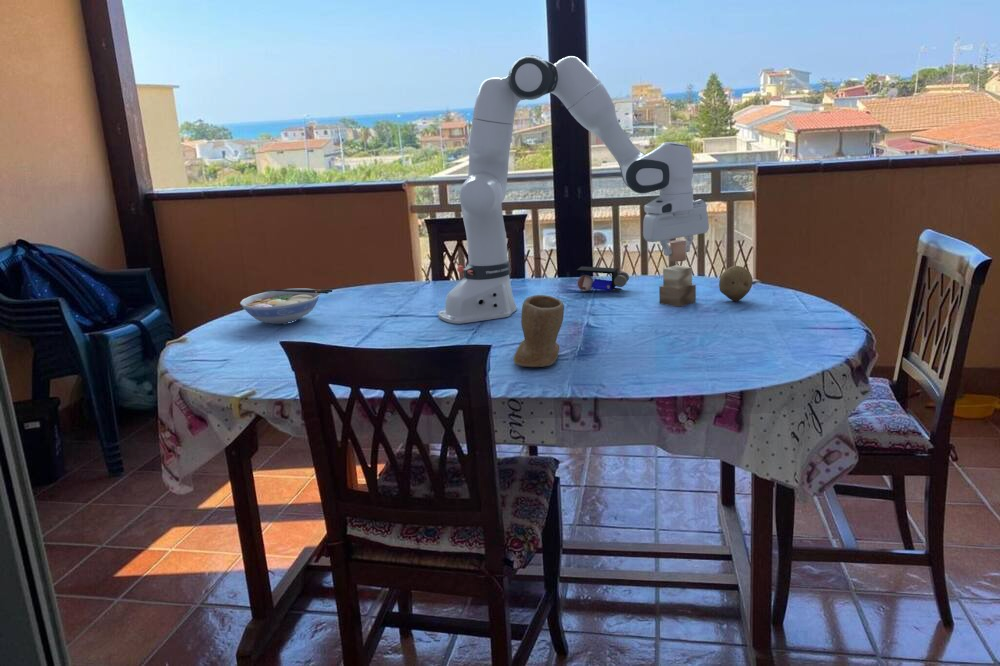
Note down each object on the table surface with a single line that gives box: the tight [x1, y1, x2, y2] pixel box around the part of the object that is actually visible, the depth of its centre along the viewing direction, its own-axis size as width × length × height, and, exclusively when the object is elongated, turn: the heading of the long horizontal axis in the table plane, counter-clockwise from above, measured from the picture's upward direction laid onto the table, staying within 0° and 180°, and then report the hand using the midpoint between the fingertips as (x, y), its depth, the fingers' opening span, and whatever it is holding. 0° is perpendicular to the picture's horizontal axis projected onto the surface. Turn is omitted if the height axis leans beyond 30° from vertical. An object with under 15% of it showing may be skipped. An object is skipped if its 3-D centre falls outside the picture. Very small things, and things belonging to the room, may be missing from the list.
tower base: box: [658, 283, 697, 308], centre depth 224 cm, size 7×7×5 cm
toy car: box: [576, 265, 630, 293], centre depth 244 cm, size 7×8×15 cm
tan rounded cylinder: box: [667, 239, 687, 263], centre depth 221 cm, size 5×5×5 cm
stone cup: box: [512, 294, 565, 368], centre depth 182 cm, size 15×12×15 cm
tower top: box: [662, 264, 693, 289], centre depth 223 cm, size 6×6×5 cm
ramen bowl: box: [239, 287, 333, 325], centre depth 234 cm, size 25×23×8 cm
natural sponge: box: [718, 265, 754, 302], centre depth 220 cm, size 9×9×10 cm
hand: (677, 253), depth 221 cm, fingers closed on tan rounded cylinder, 5 cm apart
